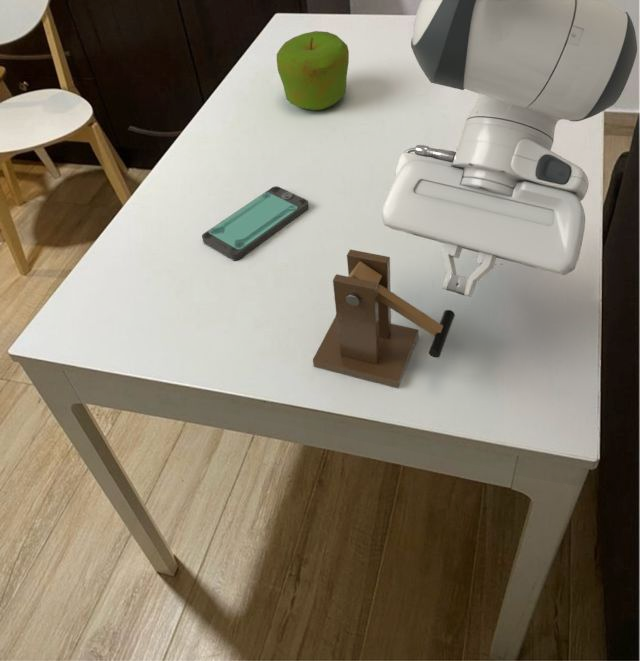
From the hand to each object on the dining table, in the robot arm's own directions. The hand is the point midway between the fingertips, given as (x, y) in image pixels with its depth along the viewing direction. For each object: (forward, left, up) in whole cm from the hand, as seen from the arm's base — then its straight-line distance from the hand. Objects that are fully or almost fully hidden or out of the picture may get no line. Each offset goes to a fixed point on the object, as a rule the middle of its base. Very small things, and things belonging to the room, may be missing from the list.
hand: (456, 293), depth 67 cm
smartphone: (+32, -15, -10) cm, 37 cm away
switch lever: (+6, +3, -2) cm, 7 cm away
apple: (+37, -50, -10) cm, 63 cm away
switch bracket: (+9, +3, -9) cm, 13 cm away
